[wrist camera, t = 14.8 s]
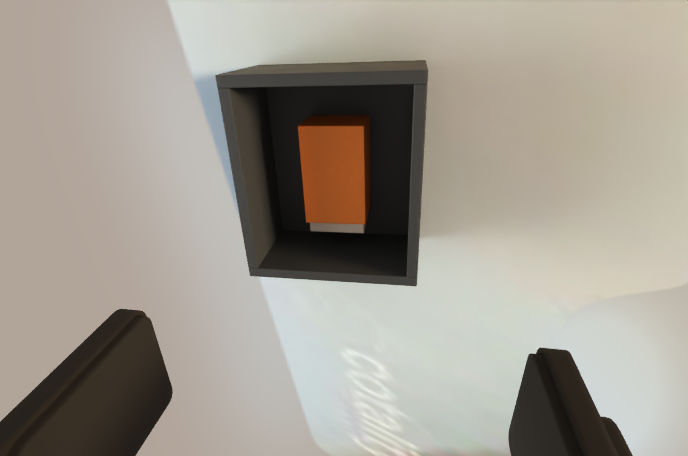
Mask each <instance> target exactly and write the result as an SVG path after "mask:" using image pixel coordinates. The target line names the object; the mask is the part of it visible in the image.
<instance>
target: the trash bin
mask: <svg viewBox="0 0 688 456" xmlns="http://www.w3.org/2000/svg"><path fill="white" fill-rule="evenodd" d="M216 81H217V87H218V92H219V98H220V104H221V110H222V116H223V121H224V127H225V133H226V139H227V145H228V150H229V156H230V162H231V168H232V174H233V180H234V185H235V191H236V197H237V203H238V209H239V214H240V220H241V226H242V232H243V238H244V243H245V249H246V255H247V261H248V267H249V272H250V276H260V277H277V278H293V279H309V280H325V281H341V282H358V283H374V284H390V285H406V286H416V285H417V271H418V252H419V233H420V214H421V195H422V177H423V158H424V139H425V120H426V101H427V82H428V68H427V64H426V61H425V60H419V61H385V62H351V63H317V64H283V65H257V66H253V67H248V68H244V69H240V70H236V71H232V72H228V73H223V74H219V75H216ZM331 115H370V197H371V205H370V209H369V213H368V219H367V223H366V227H365V231H364V233H347V232H322V231H311V230H310V223H309V222H306V214H305V203H304V192H303V181H302V170H301V159H300V148H299V136H298V126H299V125H300V124H301V123H302V122H303V121H305V120H306V119H307V118H308V117H309V116H331Z"/></svg>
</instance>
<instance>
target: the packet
mask: <svg viewBox="0 0 688 456" xmlns="http://www.w3.org/2000/svg"><path fill="white" fill-rule="evenodd" d="M298 136H299V148H300V159H301V170H302V181H303V192H304V203H305V214H306V222H309V223H310V230H311V231H322V232H347V233H364V231H365V227H366V223H367V219H368V213H369V209H370V205H371V197H370V115H331V116H309V117H308V118H307V119H306V120H305V121H303V122H302V123H301V124H300V125H299V126H298Z"/></svg>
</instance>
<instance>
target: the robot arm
mask: <svg viewBox="0 0 688 456" xmlns="http://www.w3.org/2000/svg"><path fill="white" fill-rule="evenodd" d="M171 398H172V386H171V383H170V380H169V377H168V373H167V370H166V367H165V364H164V361H163V357H162V354H161V351H160V348H159V344H158V341H157V338H156V335H155V332H154V328H153V325H152V322H151V320H150V319H149V318H148V317H147V316H146V314H145V313H144V312H143V311H138V310H127V309H119V310H117V311H115V312H114V313H113V314H112V315H111V316H110V317H109V318H108V319H107V320H106V321H105V322H104V323H102V324H101V326H99V327H98V328H97V329H96V330H95V331H94V332H93V333H92V334H91V335H90V336H89V337H88V338H87V339H86V340H85V341H84V342H83V343H82V344H81V345H80V346H79V347H77V349H75V350H74V351H73V352H72V353H71V354H70V355H69V356H68V357H67V358H66V359H65V360H64V361H63V362H62V363H61V364H60V365H59V366H58V367H57V368H56V369H55V370H54V371H53V372H52V373H50V374H49V376H47V377H46V378H45V379H44V380H43V381H42V382H41V383H40V384H39V385H38V386H37V387H36V388H35V389H34V390H33V391H32V392H31V393H30V394H29V395H28V396H27V397H26V398H25V399H24V400H22V401H21V402H20V403H19V404H18V405H17V406H16V407H15V408H14V409H13V410H12V411H11V412H10V413H9V414H8V415H7V416H6V417H5V418H4V419H3V420H2V421H1V422H0V456H135V455H136V454H137V452H138V451H139V449H140V448H141V446H142V445H143V443H144V441H145V440H146V438H147V437H148V435H149V434H150V432H151V431H152V429H153V428H154V426H155V424H156V423H157V421H158V420H159V418H160V417H161V415H162V413H163V412H164V410H165V409H166V407H167V406H168V404H169V402H170V400H171ZM509 447H510V452H511V456H632V454H631V452H630V450H629V448H628V446H627V444H626V442H625V440H624V438H623V436H622V434H621V432H620V430H619V428H618V427H617V425H616V424H615V423H614V422H613V421H612V420H611V419H610V418H606V417H600V415H599V413H598V411H597V409H596V407H595V404H594V402H593V400H592V398H591V396H590V394H589V392H588V389H587V387H586V385H585V383H584V381H583V379H582V377H581V375H580V372H579V370H578V368H577V366H576V364H575V362H574V360H573V358H572V356H571V354H570V352H568V351H567V350H558V349H548V348H539V349H538V350H537V353H536V354H529V356H528V359H527V363H526V366H525V370H524V374H523V378H522V382H521V386H520V390H519V394H518V397H517V401H516V405H515V409H514V413H513V417H512V421H511V425H510V428H509Z"/></svg>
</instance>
